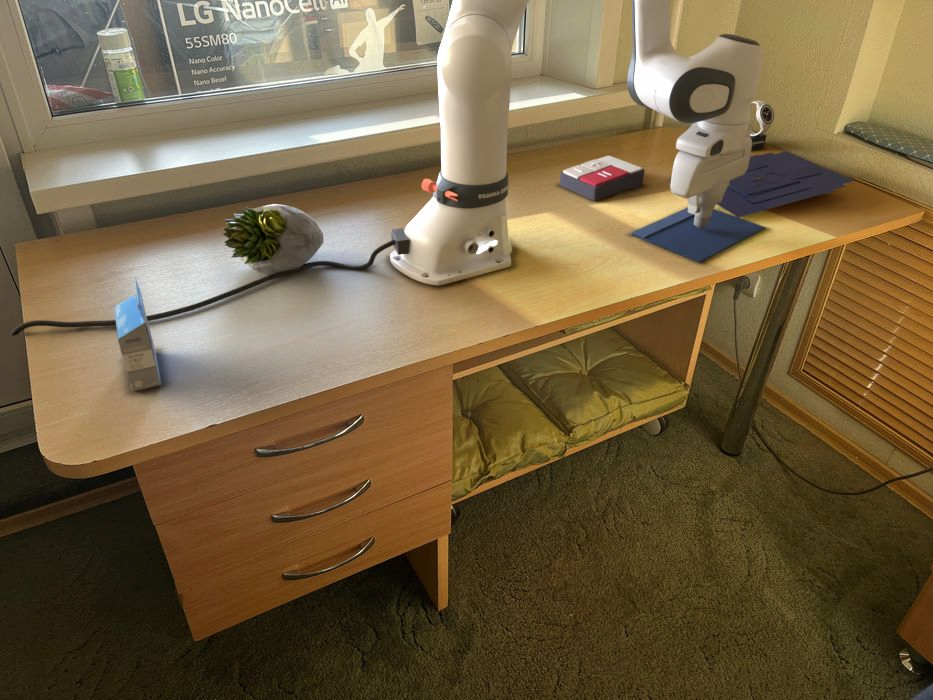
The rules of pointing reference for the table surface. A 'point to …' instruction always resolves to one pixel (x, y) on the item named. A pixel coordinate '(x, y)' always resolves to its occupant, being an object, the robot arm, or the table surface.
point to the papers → (778, 183)
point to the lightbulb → (709, 203)
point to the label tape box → (136, 343)
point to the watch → (761, 124)
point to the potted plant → (273, 238)
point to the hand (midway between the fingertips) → (704, 207)
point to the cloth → (697, 234)
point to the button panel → (602, 177)
